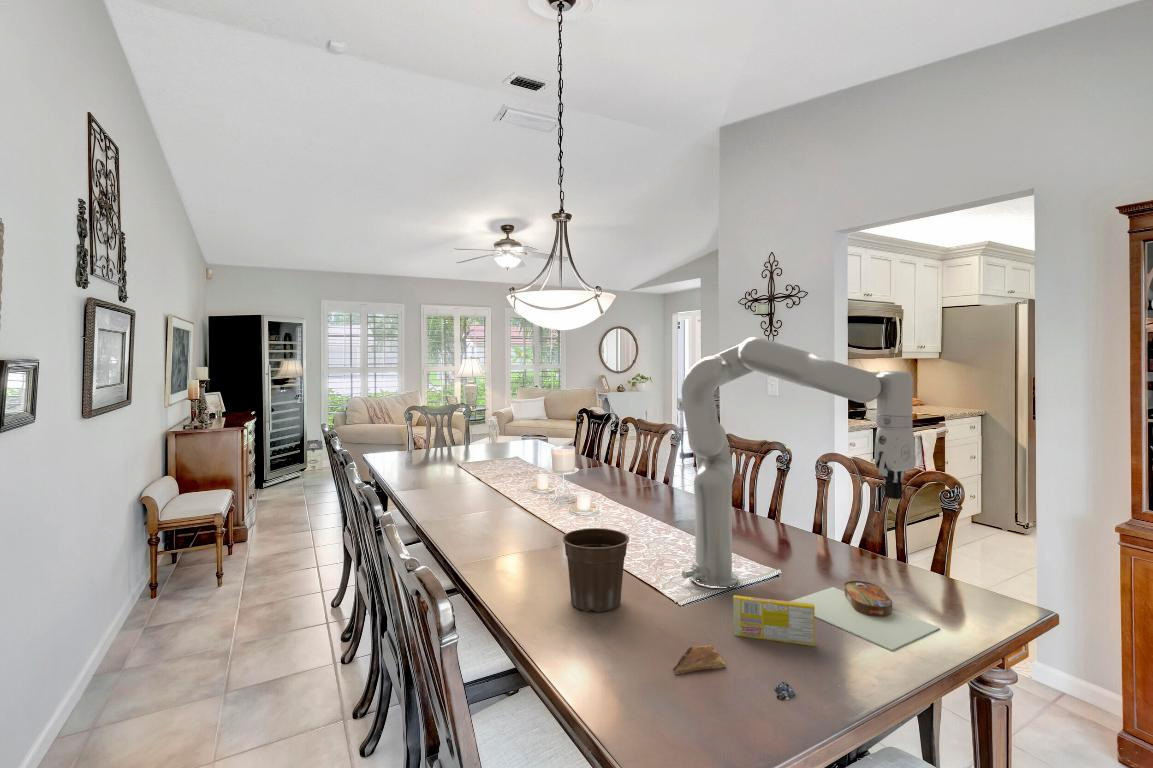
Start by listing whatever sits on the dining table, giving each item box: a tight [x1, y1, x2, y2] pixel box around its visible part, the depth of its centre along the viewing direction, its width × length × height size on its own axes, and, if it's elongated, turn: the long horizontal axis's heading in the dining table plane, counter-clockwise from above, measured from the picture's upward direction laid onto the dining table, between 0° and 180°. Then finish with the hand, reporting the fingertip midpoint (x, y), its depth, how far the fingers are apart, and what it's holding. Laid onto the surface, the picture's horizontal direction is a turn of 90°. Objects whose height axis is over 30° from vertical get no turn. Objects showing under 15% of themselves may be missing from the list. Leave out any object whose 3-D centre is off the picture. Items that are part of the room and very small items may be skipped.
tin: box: [843, 580, 894, 616], centre depth 135 cm, size 15×3×8 cm
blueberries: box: [764, 681, 796, 701], centre depth 100 cm, size 7×8×2 cm
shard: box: [672, 644, 726, 674], centre depth 110 cm, size 11×8×2 cm
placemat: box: [790, 586, 941, 652], centre depth 129 cm, size 18×26×1 cm
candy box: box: [732, 594, 816, 647], centre depth 119 cm, size 16×2×8 cm, turn 71°
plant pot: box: [562, 527, 630, 613], centre depth 138 cm, size 16×16×16 cm
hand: (893, 497), depth 137 cm, fingers closed
